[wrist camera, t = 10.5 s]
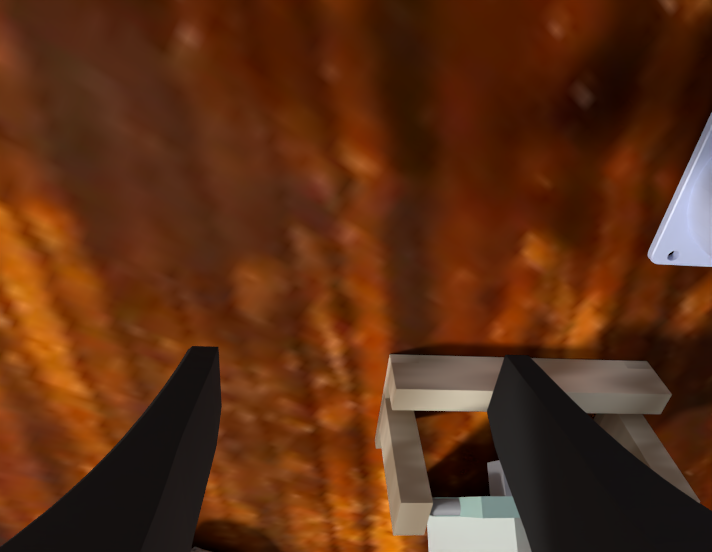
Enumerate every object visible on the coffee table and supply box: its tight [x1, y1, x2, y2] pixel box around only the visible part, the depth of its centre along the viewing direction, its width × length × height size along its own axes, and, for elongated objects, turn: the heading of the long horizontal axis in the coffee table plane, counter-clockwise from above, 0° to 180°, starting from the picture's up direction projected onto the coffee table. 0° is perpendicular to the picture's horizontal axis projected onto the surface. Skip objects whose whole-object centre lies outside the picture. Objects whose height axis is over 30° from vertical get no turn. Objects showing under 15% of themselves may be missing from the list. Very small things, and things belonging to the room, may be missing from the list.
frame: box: [375, 354, 700, 535], centre depth 27 cm, size 14×6×7 cm, turn 84°
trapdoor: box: [429, 460, 520, 518], centre depth 28 cm, size 11×14×2 cm
